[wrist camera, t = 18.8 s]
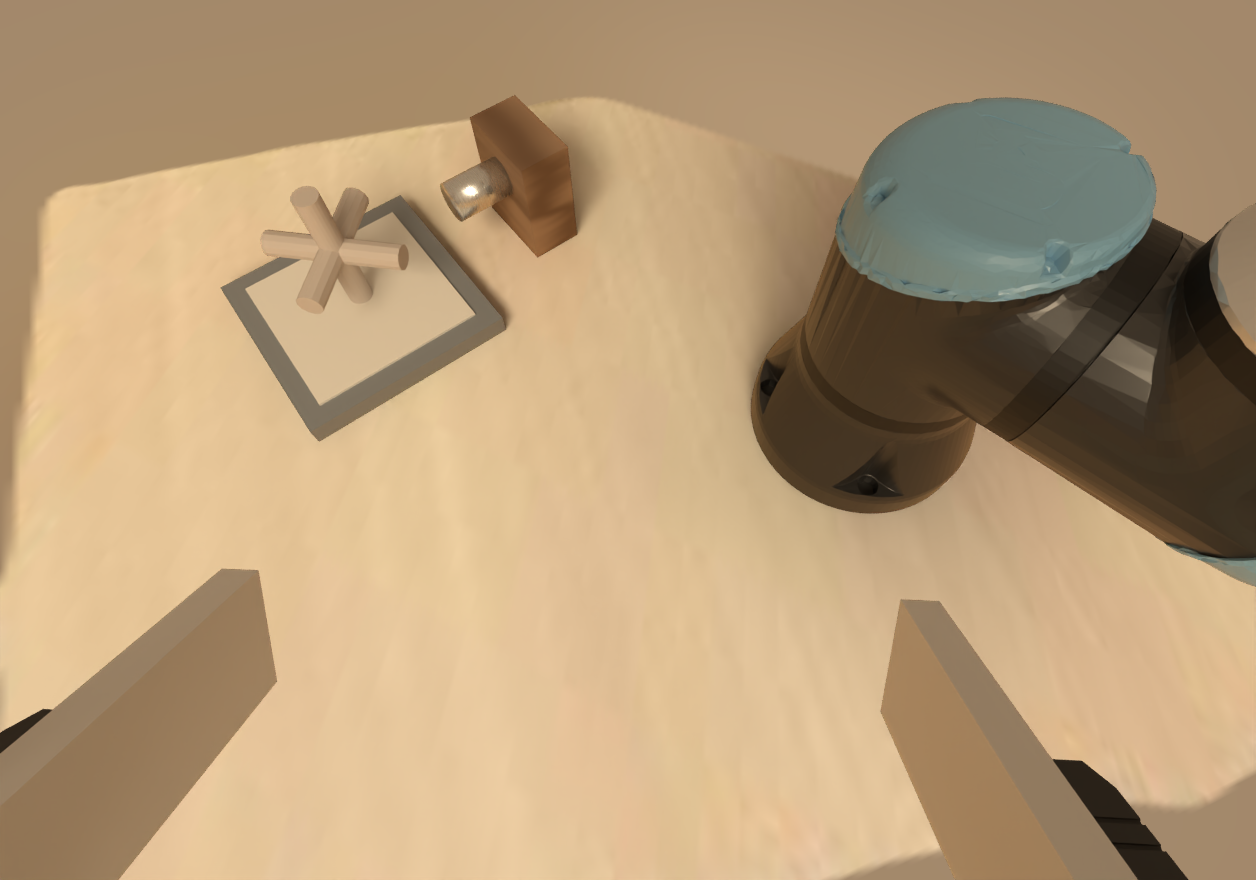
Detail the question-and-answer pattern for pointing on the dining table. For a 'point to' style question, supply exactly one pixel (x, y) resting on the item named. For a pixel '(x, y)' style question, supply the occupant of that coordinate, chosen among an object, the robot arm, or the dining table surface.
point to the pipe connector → (332, 248)
